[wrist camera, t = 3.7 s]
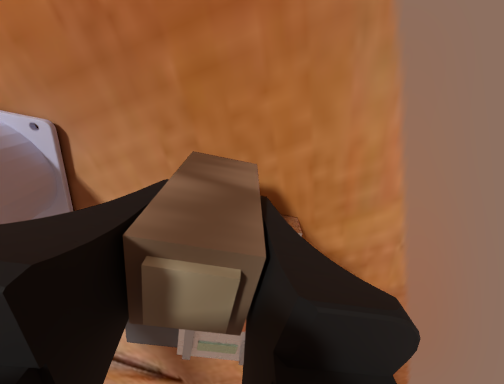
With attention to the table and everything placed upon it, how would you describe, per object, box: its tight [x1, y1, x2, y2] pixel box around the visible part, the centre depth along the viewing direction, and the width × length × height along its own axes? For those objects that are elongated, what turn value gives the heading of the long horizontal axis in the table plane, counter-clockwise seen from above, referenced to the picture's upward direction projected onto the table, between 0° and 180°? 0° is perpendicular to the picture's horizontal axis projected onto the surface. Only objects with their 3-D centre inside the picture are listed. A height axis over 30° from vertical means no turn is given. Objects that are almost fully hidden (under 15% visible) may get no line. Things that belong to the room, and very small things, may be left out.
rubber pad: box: [125, 319, 179, 347], centre depth 23 cm, size 7×8×1 cm
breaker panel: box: [177, 215, 302, 365], centre depth 19 cm, size 8×18×3 cm, turn 168°
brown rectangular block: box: [123, 151, 266, 336], centre depth 9 cm, size 4×4×7 cm
